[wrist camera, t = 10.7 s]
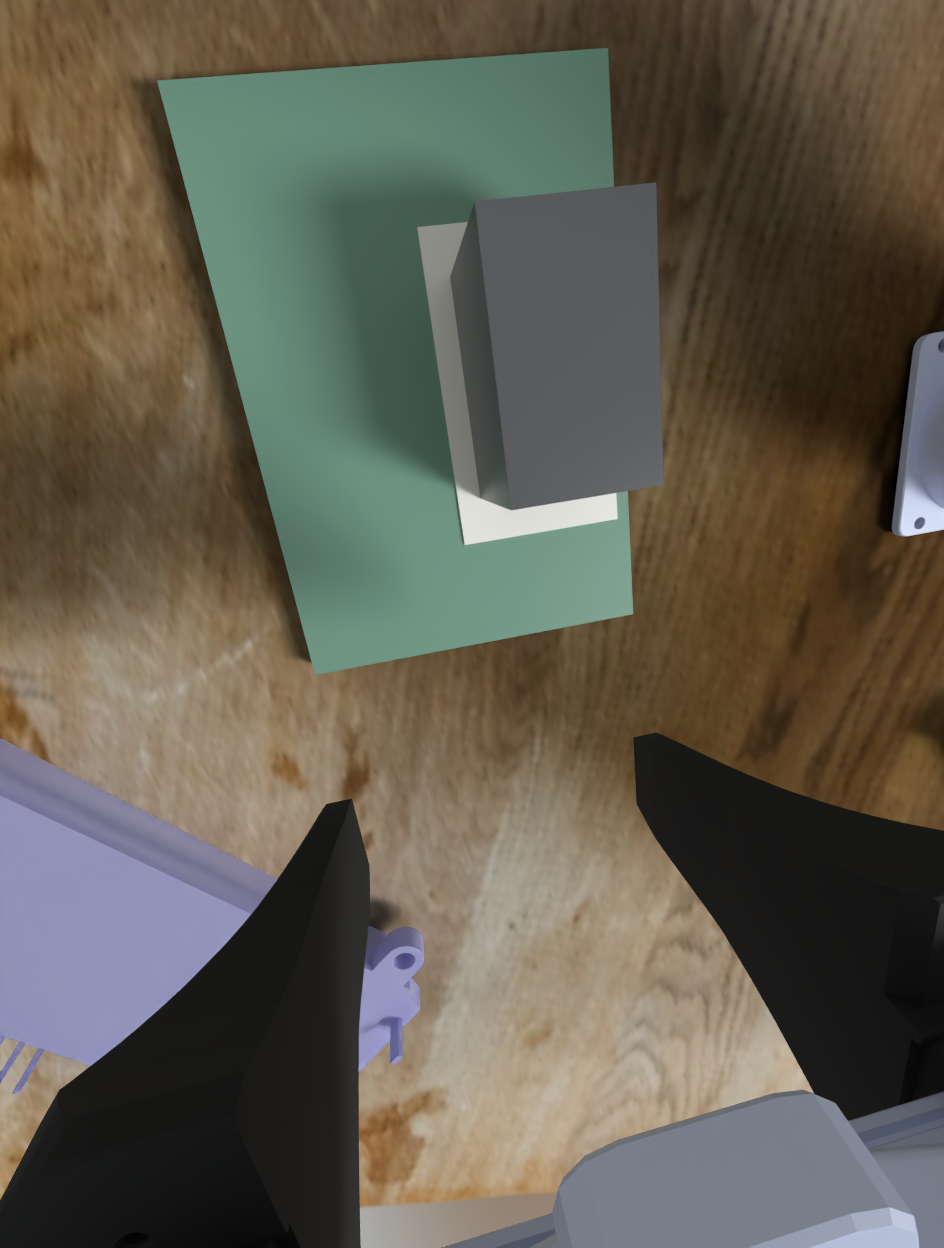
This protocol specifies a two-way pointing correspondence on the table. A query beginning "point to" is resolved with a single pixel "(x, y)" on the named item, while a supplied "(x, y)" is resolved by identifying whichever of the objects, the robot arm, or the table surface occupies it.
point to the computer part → (132, 919)
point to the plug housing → (562, 344)
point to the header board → (391, 336)
